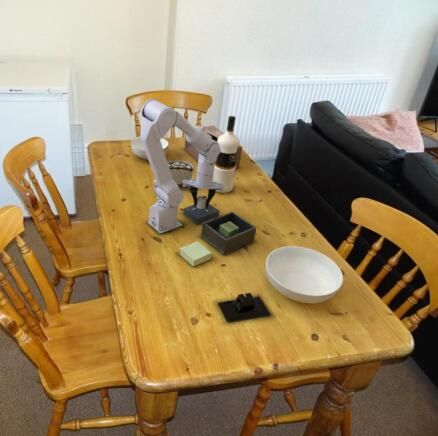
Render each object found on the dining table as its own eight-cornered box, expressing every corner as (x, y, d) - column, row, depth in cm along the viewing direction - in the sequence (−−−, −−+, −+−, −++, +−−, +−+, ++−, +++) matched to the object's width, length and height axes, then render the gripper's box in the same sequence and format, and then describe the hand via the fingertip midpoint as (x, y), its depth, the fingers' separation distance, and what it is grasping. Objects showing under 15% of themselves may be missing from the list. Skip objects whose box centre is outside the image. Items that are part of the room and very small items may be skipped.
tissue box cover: (238, 167, 182) (242, 146, 176) (209, 172, 177) (212, 151, 172) (211, 145, 202) (213, 125, 196) (184, 148, 197) (186, 128, 192)
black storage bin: (223, 255, 130) (226, 240, 127) (200, 236, 138) (202, 222, 135) (253, 241, 137) (256, 227, 133) (229, 225, 144) (232, 211, 141)
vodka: (213, 180, 171) (222, 110, 154) (235, 185, 168) (247, 114, 151) (207, 190, 164) (216, 118, 147) (230, 196, 161) (242, 122, 144)
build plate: (258, 297, 115) (262, 285, 113) (271, 316, 109) (274, 304, 107) (217, 303, 112) (219, 291, 110) (227, 323, 107) (230, 311, 104)
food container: (192, 182, 169) (195, 160, 163) (192, 190, 164) (195, 167, 158) (162, 180, 170) (164, 158, 164) (161, 187, 165) (163, 165, 159)
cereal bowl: (147, 168, 178) (148, 153, 175) (123, 155, 188) (123, 141, 185) (175, 157, 188) (176, 143, 184) (150, 146, 198) (151, 132, 194)
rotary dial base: (197, 224, 144) (197, 218, 142) (180, 211, 150) (181, 205, 149) (218, 216, 149) (219, 210, 147) (201, 204, 155) (202, 198, 154)
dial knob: (200, 210, 147) (201, 200, 145) (194, 205, 150) (195, 196, 147) (208, 207, 149) (209, 198, 147) (201, 202, 151) (202, 193, 149)
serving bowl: (247, 271, 124) (251, 253, 120) (304, 257, 130) (310, 240, 126) (290, 321, 108) (296, 302, 104) (352, 302, 114) (360, 284, 110)
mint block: (193, 266, 125) (194, 260, 124) (179, 254, 130) (180, 248, 128) (210, 259, 128) (211, 252, 127) (196, 247, 133) (197, 241, 132)
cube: (227, 243, 134) (229, 232, 132) (218, 236, 137) (219, 225, 135) (237, 238, 136) (239, 227, 134) (227, 232, 139) (229, 221, 137)
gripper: (227, 169, 144) (221, 202, 151) (185, 164, 146) (182, 197, 153) (226, 178, 138) (220, 212, 145) (183, 173, 140) (180, 207, 147)
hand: (201, 205), depth 149 cm, fingers closed on dial knob, 3 cm apart
